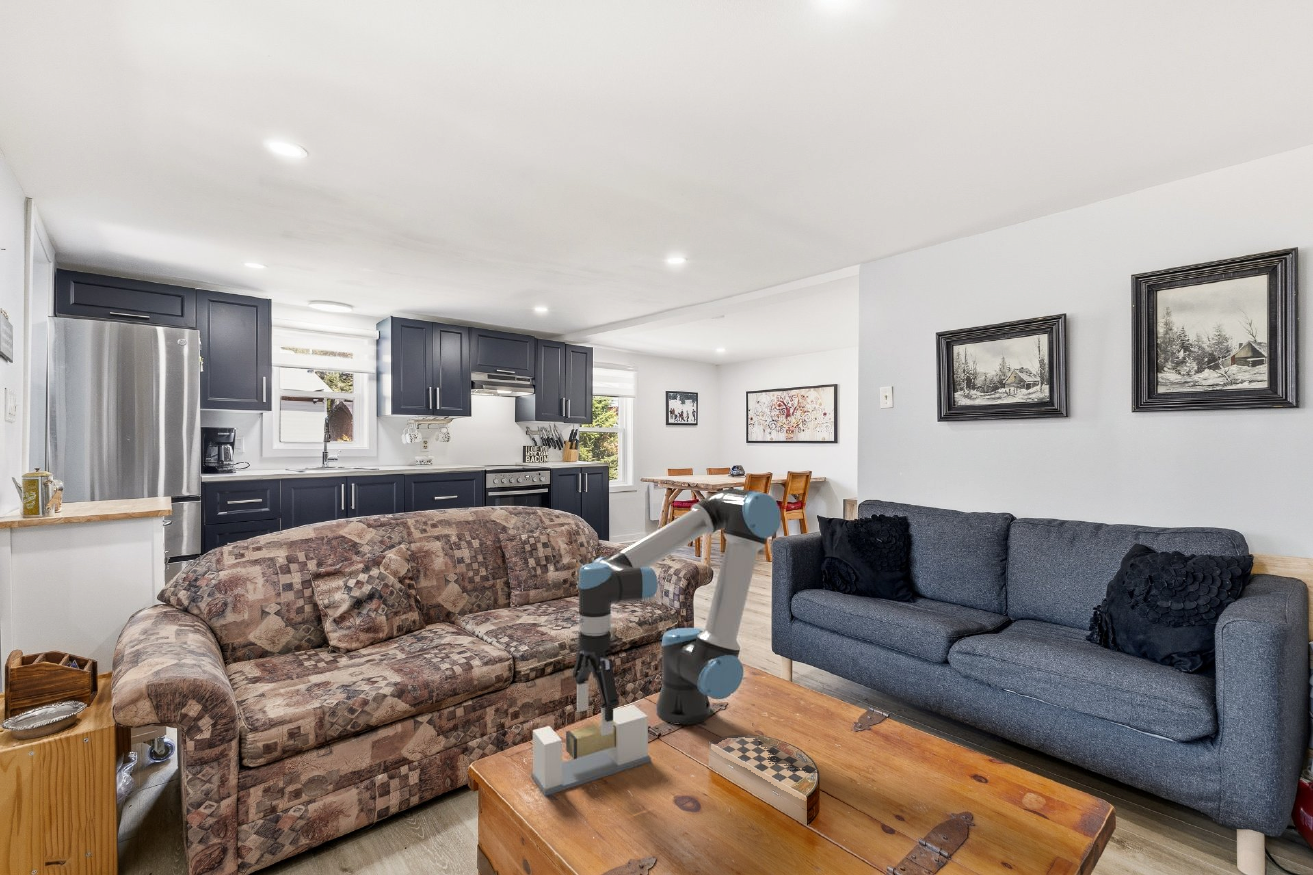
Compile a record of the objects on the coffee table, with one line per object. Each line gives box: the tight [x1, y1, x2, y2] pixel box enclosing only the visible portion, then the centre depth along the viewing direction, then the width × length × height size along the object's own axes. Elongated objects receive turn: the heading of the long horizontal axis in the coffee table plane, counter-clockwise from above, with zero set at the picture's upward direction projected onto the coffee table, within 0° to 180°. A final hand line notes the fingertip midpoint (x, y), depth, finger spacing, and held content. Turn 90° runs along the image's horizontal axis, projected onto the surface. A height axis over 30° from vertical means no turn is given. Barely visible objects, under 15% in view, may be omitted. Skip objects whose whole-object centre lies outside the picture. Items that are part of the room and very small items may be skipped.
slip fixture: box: [530, 704, 652, 797], centre depth 143 cm, size 26×9×11 cm, turn 121°
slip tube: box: [565, 721, 616, 759], centre depth 145 cm, size 18×4×4 cm, turn 121°
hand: (594, 721), depth 143 cm, fingers open, 13 cm apart
